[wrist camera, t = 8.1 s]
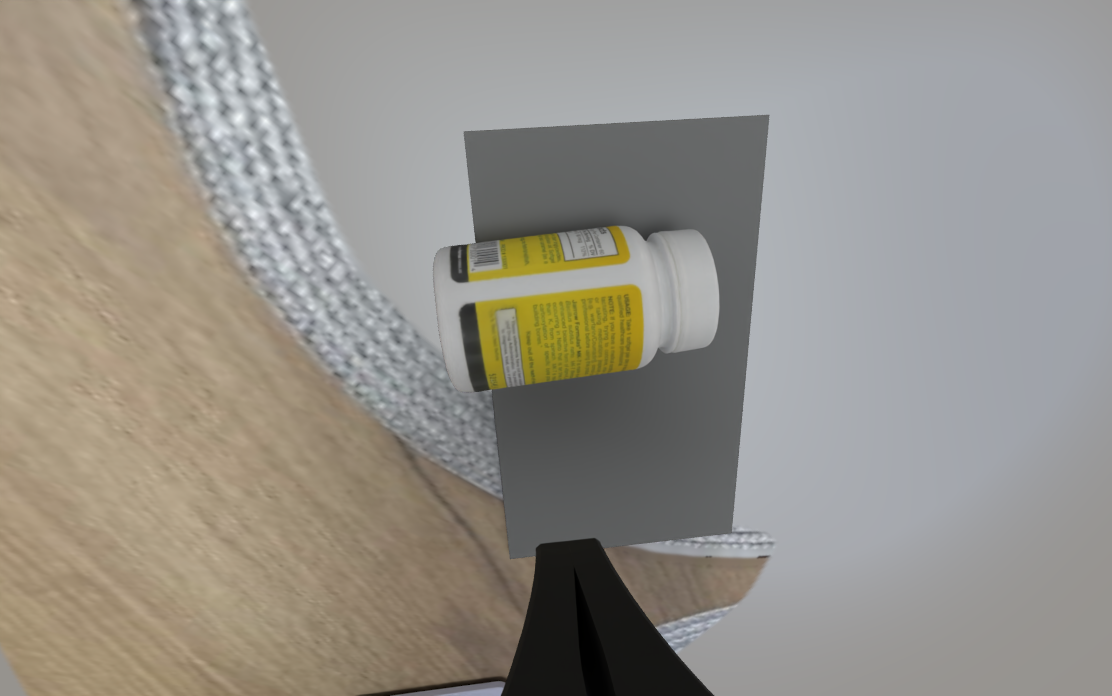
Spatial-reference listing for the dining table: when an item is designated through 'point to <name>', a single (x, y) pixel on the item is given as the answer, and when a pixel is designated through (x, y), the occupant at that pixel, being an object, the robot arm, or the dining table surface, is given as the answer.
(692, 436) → the mat
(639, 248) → the supplement bottle
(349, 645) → the dining table surface
